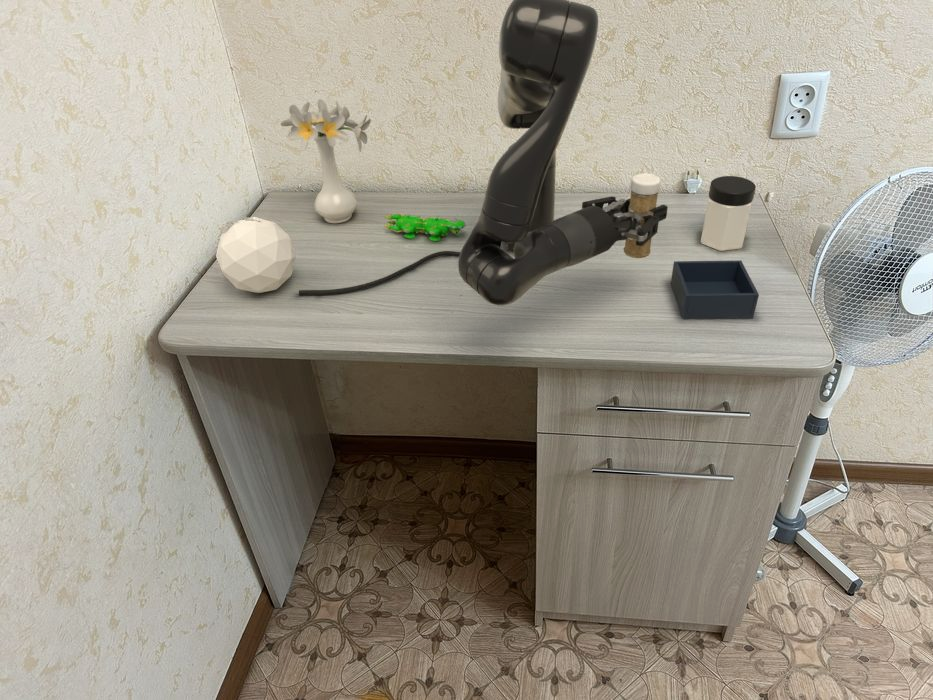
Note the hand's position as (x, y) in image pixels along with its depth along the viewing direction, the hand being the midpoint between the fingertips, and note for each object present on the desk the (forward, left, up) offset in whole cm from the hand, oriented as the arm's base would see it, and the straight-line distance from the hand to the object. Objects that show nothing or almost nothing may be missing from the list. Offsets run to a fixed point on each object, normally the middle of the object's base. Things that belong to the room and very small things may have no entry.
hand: (653, 205), depth 113 cm
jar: (+18, +18, -17) cm, 31 cm away
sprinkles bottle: (-2, -2, -8) cm, 8 cm away
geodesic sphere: (-71, +3, -17) cm, 73 cm away
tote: (+11, -3, -17) cm, 21 cm away
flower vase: (-62, +32, -17) cm, 72 cm away
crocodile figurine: (-42, +23, -17) cm, 51 cm away
